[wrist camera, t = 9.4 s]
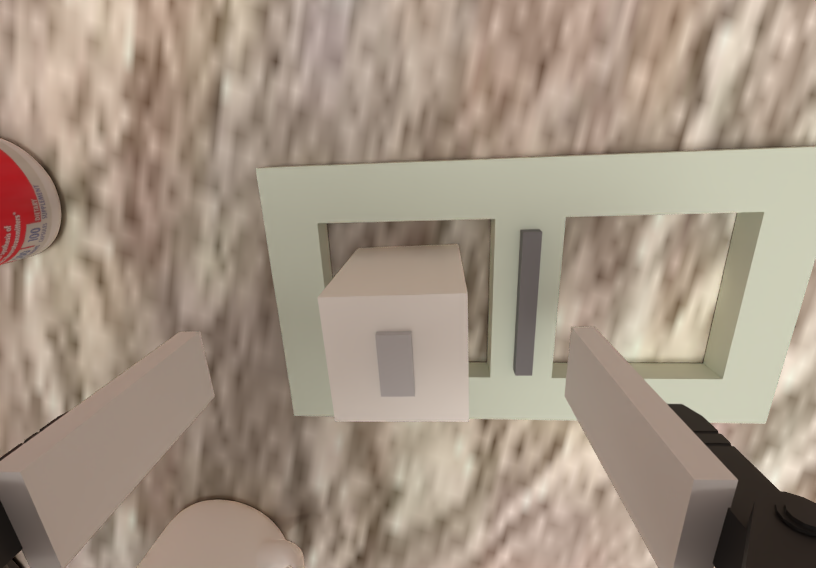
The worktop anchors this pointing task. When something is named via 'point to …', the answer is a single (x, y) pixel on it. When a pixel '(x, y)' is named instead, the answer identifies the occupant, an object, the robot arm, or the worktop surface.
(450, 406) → the block
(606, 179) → the faceplate
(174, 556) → the mug
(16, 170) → the pill bottle
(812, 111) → the worktop surface
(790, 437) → the worktop surface
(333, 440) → the worktop surface
